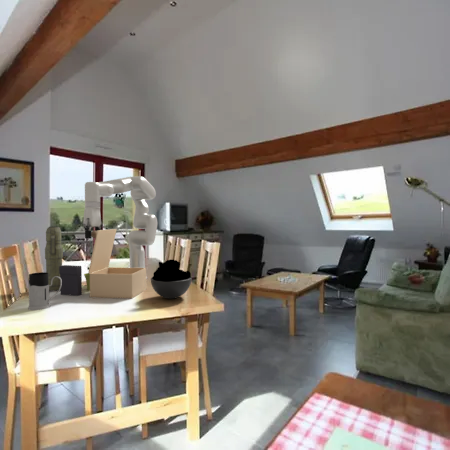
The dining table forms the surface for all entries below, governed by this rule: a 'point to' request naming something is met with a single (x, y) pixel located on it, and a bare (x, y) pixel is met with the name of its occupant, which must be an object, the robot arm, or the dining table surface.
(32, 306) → the glass holder
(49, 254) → the thermos
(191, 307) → the dining table surface
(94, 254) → the flap
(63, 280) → the dark grey box
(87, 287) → the plant pot
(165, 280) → the coal bowl
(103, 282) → the carton
